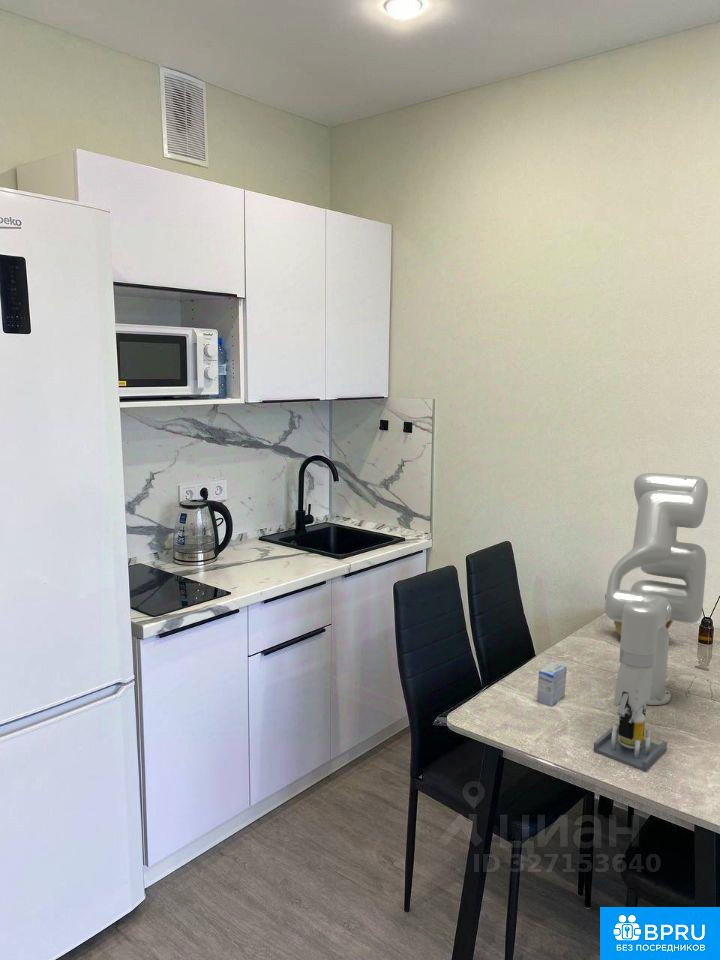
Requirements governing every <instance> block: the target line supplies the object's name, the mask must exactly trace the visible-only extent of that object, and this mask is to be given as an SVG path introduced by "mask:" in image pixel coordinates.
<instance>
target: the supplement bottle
mask: <svg viewBox="0 0 720 960" xmlns="http://www.w3.org/2000/svg"><path fill="white" fill-rule="evenodd" d="M627 707H629V708H631V706H630V705H627ZM642 712H643V705H642V706H641V707H640V708H639V709H637V710H636V711H635V713H634V718H633V722H634V736H633V739H632V740H631V739H628V738H625V737H623V736H620V735H619V736H618V741H619V743H620V744H621V745H623V746H625V747H627V748H631V749H635V740H639V741H640V748H641V747H642V746H643V739H644V740H645V737H644V736H645V735H644V734H645V725H646V715H644V714H643V713H642ZM626 713H627V714H628V715H629V716H630V711H628V710H626Z"/></svg>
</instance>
